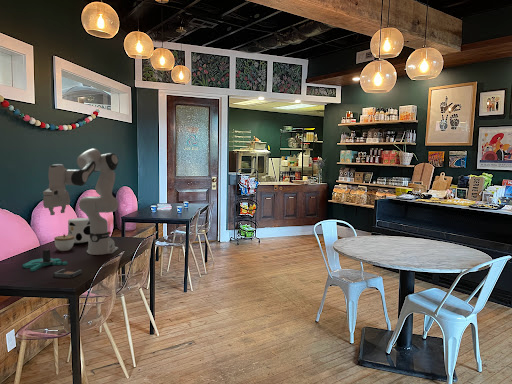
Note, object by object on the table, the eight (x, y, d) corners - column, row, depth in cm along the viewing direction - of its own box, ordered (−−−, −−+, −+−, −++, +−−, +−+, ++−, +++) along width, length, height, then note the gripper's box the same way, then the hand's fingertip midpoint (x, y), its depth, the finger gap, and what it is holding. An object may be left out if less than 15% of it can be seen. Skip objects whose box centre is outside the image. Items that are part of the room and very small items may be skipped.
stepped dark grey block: (43, 261, 231) (43, 248, 230) (54, 261, 230) (53, 249, 230) (39, 263, 227) (38, 250, 226) (50, 263, 226) (49, 250, 226)
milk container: (62, 243, 286) (61, 220, 284) (80, 239, 302) (80, 217, 300) (78, 246, 279) (78, 222, 278) (97, 241, 295) (96, 219, 293)
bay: (63, 272, 215) (63, 268, 214) (81, 273, 213) (81, 269, 213) (53, 276, 206) (53, 273, 206) (71, 278, 204) (71, 274, 204)
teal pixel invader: (67, 265, 231) (53, 259, 243) (67, 262, 230) (52, 256, 243) (31, 272, 215) (18, 266, 227) (31, 268, 215) (18, 262, 227)
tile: (67, 273, 214) (67, 271, 214) (76, 274, 213) (76, 272, 213) (59, 276, 208) (59, 274, 208) (69, 277, 207) (69, 275, 207)
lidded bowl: (78, 248, 273) (77, 233, 272) (67, 252, 260) (67, 236, 259) (61, 247, 274) (61, 232, 273) (50, 251, 262) (50, 235, 261)
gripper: (63, 189, 237) (63, 211, 238) (40, 192, 217) (41, 216, 218) (72, 190, 236) (73, 211, 237) (50, 192, 216) (51, 216, 217)
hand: (57, 213), depth 228 cm, fingers open, 8 cm apart
